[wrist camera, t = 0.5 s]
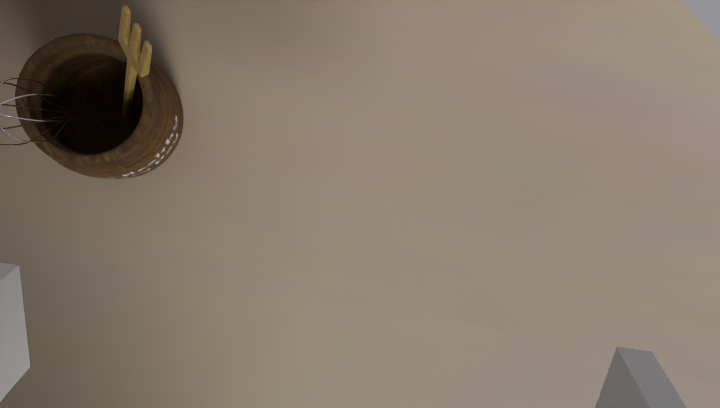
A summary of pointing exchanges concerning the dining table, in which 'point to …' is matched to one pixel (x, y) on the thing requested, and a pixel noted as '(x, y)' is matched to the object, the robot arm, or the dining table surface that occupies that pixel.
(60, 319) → the dining table surface
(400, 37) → the dining table surface
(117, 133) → the utensil holder
